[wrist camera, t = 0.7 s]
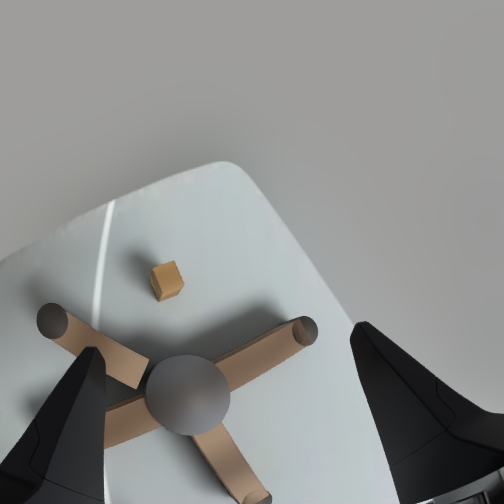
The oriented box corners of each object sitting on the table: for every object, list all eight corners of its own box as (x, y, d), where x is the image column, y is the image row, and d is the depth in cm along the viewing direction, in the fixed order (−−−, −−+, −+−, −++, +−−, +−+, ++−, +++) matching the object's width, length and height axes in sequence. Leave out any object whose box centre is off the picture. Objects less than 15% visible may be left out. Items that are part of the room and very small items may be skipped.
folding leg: (148, 358, 21) (150, 358, 18) (135, 387, 20) (135, 390, 17) (56, 304, 19) (46, 296, 17) (42, 331, 18) (31, 326, 15)
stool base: (345, 427, 25) (369, 431, 22) (135, 547, 13) (137, 567, 10) (252, 242, 29) (268, 226, 26) (9, 333, 17) (-9, 327, 14)
